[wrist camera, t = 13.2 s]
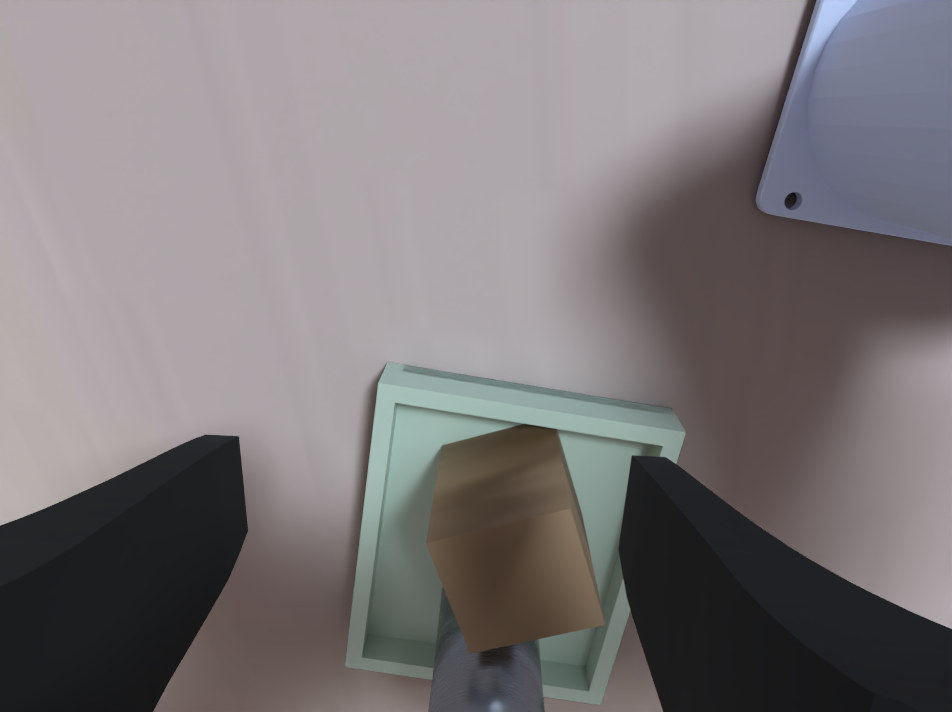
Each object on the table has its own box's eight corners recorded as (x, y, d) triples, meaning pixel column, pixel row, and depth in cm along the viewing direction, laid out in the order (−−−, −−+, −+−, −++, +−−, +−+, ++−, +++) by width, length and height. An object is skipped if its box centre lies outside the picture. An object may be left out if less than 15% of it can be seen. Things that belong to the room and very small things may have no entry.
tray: (672, 408, 22) (686, 432, 21) (594, 667, 27) (600, 705, 25) (387, 362, 22) (378, 382, 20) (354, 631, 26) (344, 666, 25)
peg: (525, 551, 24) (535, 689, 18) (542, 625, 25) (556, 775, 20) (431, 566, 24) (412, 706, 19) (453, 638, 26) (441, 789, 20)
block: (553, 416, 22) (570, 508, 17) (581, 512, 23) (605, 624, 18) (442, 445, 23) (425, 543, 17) (476, 537, 24) (470, 654, 19)
